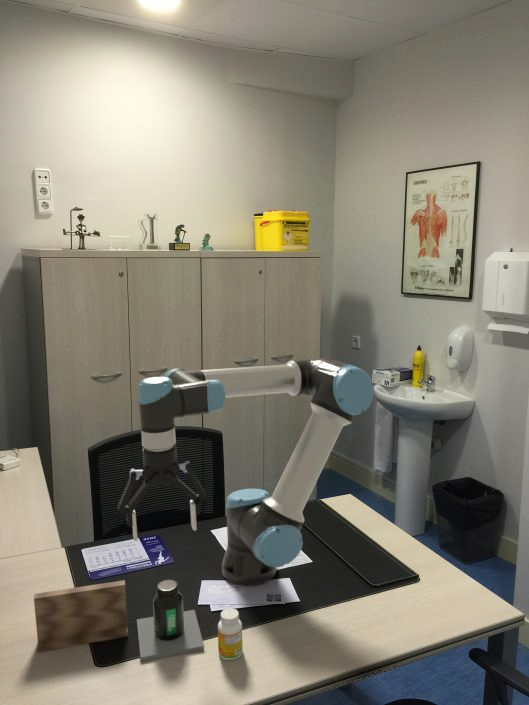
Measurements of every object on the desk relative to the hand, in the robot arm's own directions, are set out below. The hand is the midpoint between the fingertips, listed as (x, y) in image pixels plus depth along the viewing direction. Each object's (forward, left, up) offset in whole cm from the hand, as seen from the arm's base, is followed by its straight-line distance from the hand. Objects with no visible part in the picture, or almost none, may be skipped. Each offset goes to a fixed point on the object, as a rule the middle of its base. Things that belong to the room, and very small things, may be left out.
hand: (165, 533), depth 140 cm
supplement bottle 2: (-16, +9, -24) cm, 30 cm away
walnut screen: (+19, +5, -24) cm, 31 cm away
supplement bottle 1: (-1, +4, -23) cm, 23 cm away
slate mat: (-1, +4, -24) cm, 24 cm away
